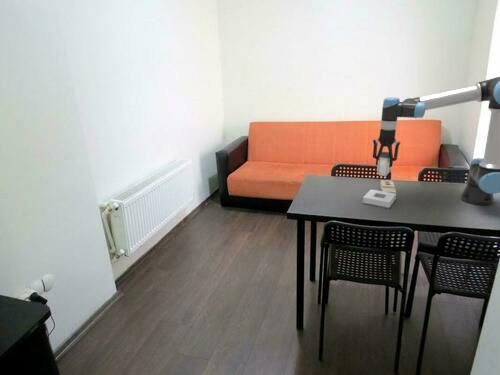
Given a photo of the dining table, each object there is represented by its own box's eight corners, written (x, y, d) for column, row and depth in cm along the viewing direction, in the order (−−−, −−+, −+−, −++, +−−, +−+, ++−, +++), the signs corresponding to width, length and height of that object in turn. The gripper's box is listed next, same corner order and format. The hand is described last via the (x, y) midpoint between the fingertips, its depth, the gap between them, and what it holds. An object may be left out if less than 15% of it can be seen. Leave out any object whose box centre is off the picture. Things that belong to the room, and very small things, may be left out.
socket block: (395, 199, 195) (396, 193, 193) (388, 208, 184) (389, 202, 183) (370, 195, 202) (370, 189, 201) (362, 203, 192) (363, 197, 190)
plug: (388, 174, 188) (391, 152, 184) (386, 176, 184) (388, 154, 180) (379, 172, 191) (381, 151, 186) (376, 175, 187) (379, 153, 183)
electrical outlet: (383, 190, 199) (380, 179, 215) (382, 196, 200) (379, 186, 217) (396, 190, 197) (392, 180, 214) (395, 197, 199) (392, 186, 215)
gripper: (407, 129, 177) (402, 172, 185) (373, 125, 186) (368, 167, 195) (404, 131, 171) (398, 176, 179) (368, 128, 181) (364, 171, 189)
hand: (383, 171), depth 187 cm, fingers closed on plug, 4 cm apart
